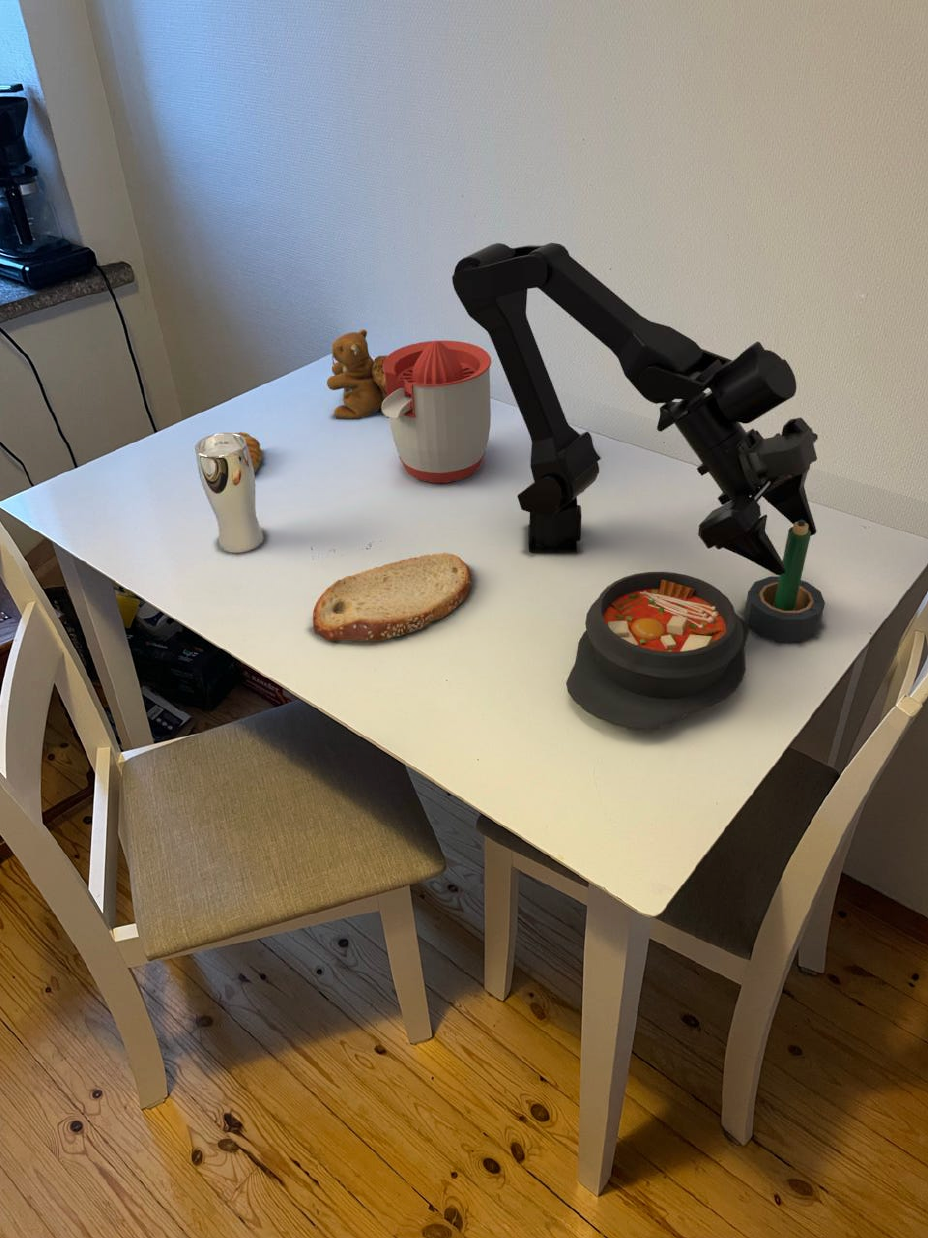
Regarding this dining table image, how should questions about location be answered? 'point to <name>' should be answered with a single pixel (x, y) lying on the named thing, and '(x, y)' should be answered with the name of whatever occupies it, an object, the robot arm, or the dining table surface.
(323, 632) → the slice of bread
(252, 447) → the pastry
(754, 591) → the tape roll
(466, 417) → the citrus juicer
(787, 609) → the pencil
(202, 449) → the beer glass
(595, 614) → the casserole
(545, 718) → the dining table surface
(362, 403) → the stuffed squirrel
